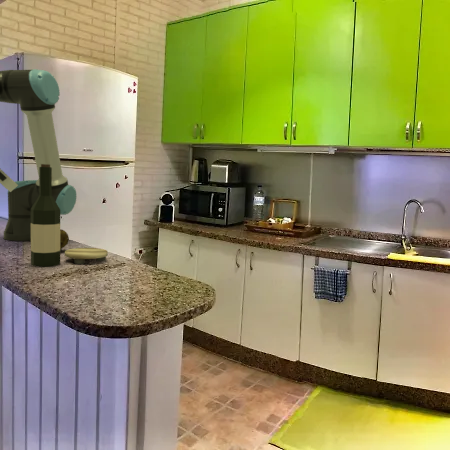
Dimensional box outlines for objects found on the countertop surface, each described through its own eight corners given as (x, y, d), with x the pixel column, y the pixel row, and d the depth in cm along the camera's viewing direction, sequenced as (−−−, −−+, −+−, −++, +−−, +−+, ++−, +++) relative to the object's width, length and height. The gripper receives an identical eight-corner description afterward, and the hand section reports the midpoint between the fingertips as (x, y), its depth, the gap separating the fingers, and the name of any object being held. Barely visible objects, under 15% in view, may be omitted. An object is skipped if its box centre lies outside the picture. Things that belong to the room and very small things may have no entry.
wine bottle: (48, 260, 144) (48, 164, 141) (66, 264, 140) (66, 165, 136) (24, 264, 137) (24, 163, 134) (42, 268, 133) (42, 164, 129)
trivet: (65, 257, 150) (65, 248, 150) (105, 256, 154) (105, 247, 154) (64, 265, 138) (64, 255, 138) (109, 264, 142) (109, 254, 142)
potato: (62, 247, 168) (62, 225, 167) (70, 253, 157) (71, 230, 156) (38, 248, 164) (38, 226, 163) (45, 254, 153) (45, 230, 152)
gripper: (-59, 140, 132) (-1, 193, 141) (-65, 136, 110) (4, 199, 119) (-38, 123, 134) (18, 177, 143) (-40, 116, 112) (26, 179, 121)
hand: (12, 187), depth 131 cm, fingers open, 13 cm apart
